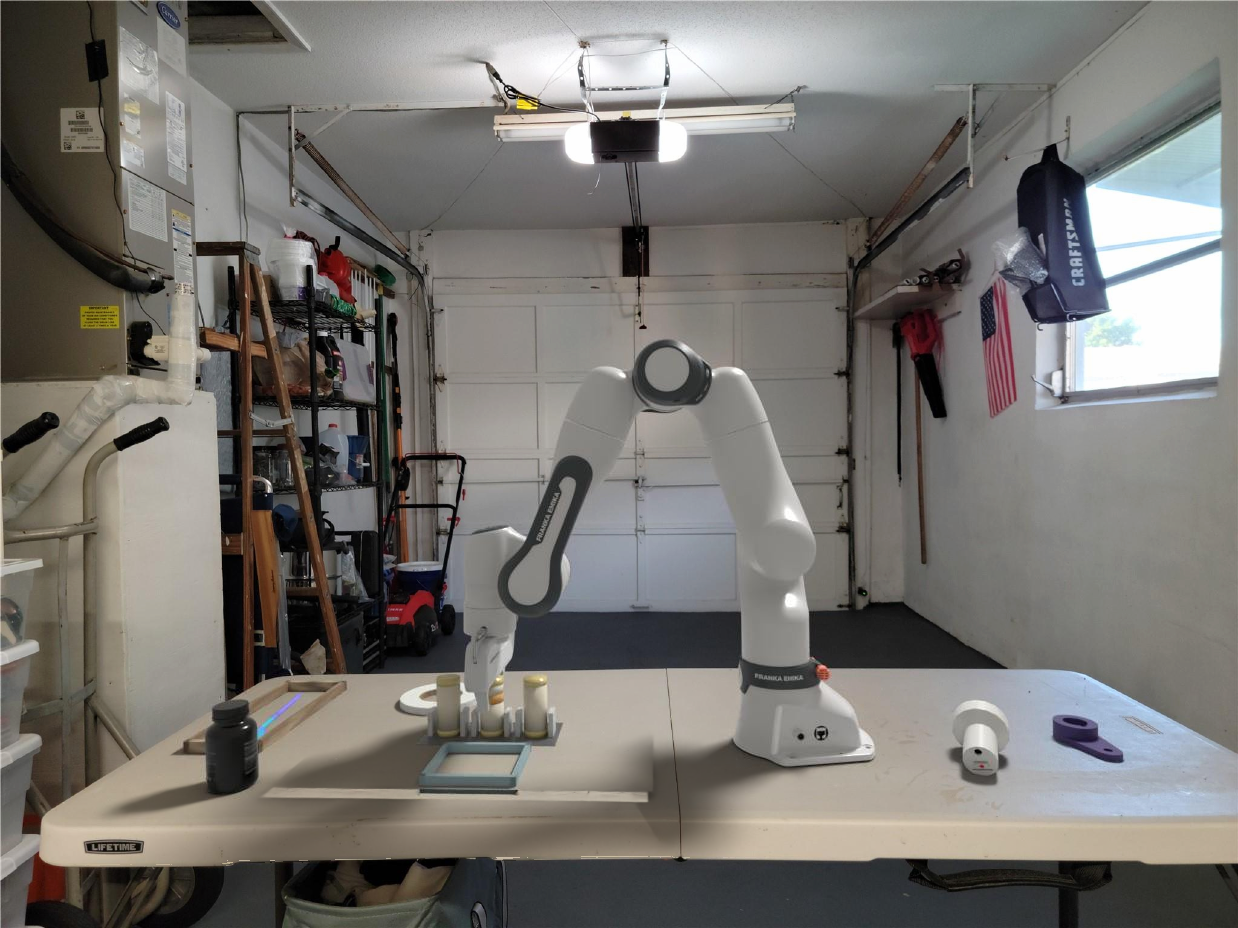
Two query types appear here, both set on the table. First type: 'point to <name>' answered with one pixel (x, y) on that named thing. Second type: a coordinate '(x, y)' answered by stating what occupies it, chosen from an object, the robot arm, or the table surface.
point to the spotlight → (980, 735)
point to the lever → (1084, 737)
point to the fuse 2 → (535, 706)
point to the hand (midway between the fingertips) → (490, 701)
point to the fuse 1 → (448, 705)
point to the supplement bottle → (231, 748)
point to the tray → (474, 779)
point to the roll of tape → (417, 705)
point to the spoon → (276, 716)
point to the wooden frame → (333, 690)
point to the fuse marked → (494, 711)
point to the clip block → (511, 735)
